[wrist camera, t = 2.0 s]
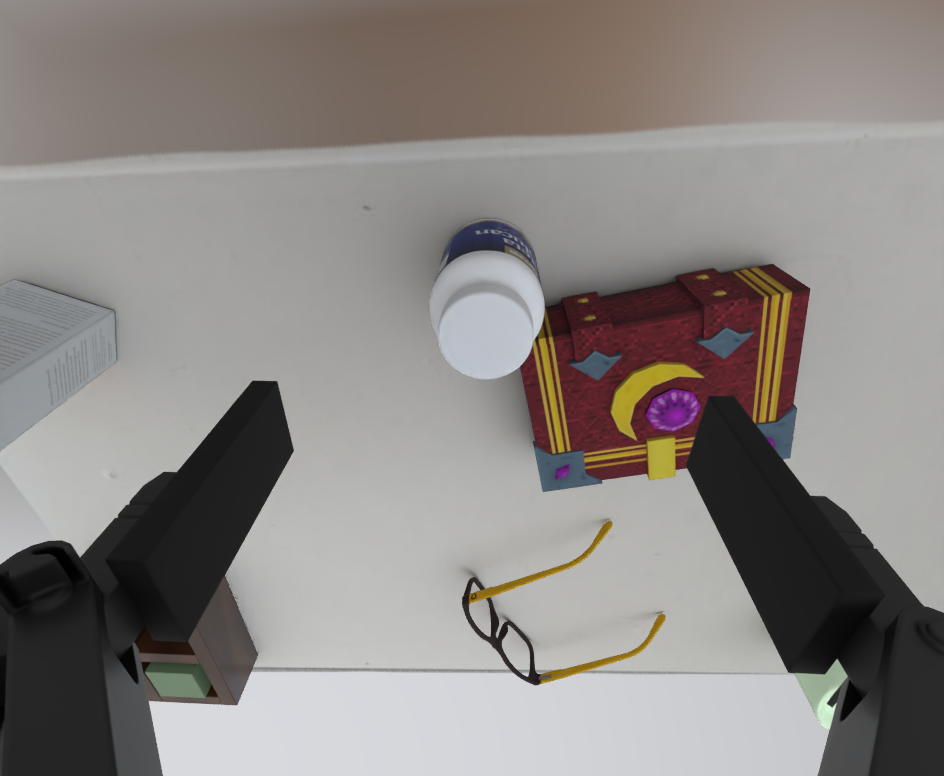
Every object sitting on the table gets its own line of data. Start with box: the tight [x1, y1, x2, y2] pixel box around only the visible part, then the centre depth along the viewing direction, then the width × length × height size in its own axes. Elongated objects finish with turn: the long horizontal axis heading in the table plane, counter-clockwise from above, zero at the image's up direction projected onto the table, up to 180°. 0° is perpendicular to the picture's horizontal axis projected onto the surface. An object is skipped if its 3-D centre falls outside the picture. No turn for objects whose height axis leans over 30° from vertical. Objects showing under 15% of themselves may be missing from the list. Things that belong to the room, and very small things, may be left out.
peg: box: [145, 662, 212, 698], centre depth 47 cm, size 4×4×6 cm
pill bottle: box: [429, 219, 545, 379], centre depth 24 cm, size 5×5×10 cm
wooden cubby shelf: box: [134, 576, 258, 705], centre depth 46 cm, size 9×16×5 cm, turn 179°
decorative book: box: [520, 264, 810, 492], centre depth 29 cm, size 11×16×5 cm
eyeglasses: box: [462, 521, 665, 685], centre depth 42 cm, size 14×14×4 cm
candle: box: [794, 659, 848, 731], centre depth 42 cm, size 5×5×8 cm
